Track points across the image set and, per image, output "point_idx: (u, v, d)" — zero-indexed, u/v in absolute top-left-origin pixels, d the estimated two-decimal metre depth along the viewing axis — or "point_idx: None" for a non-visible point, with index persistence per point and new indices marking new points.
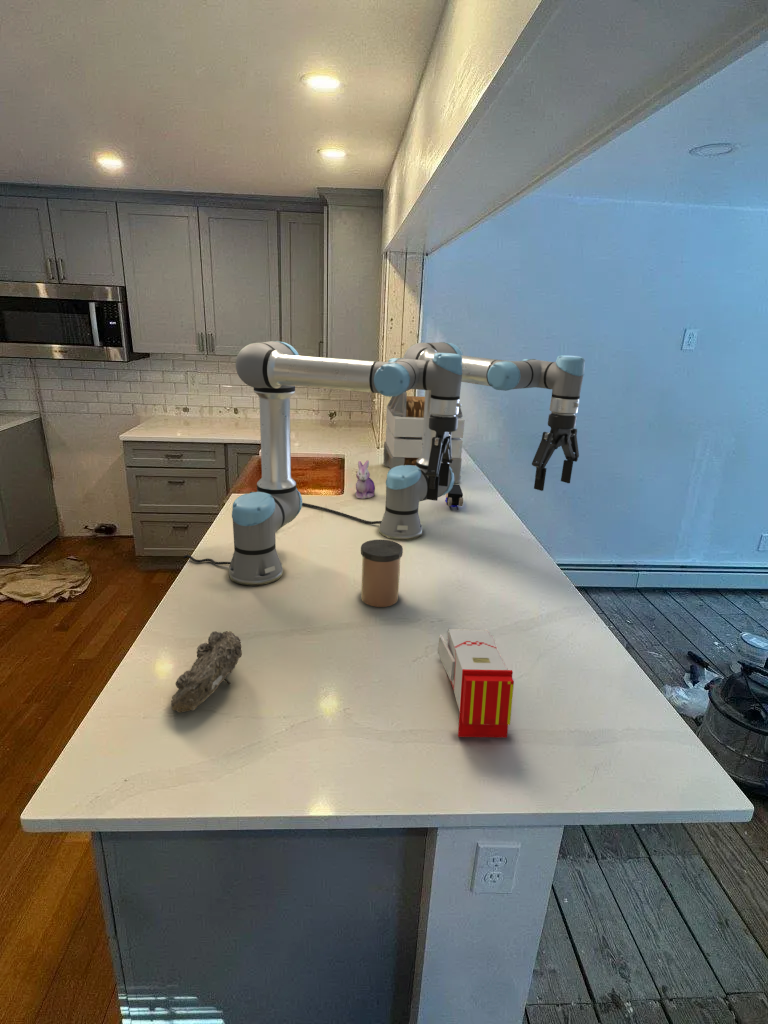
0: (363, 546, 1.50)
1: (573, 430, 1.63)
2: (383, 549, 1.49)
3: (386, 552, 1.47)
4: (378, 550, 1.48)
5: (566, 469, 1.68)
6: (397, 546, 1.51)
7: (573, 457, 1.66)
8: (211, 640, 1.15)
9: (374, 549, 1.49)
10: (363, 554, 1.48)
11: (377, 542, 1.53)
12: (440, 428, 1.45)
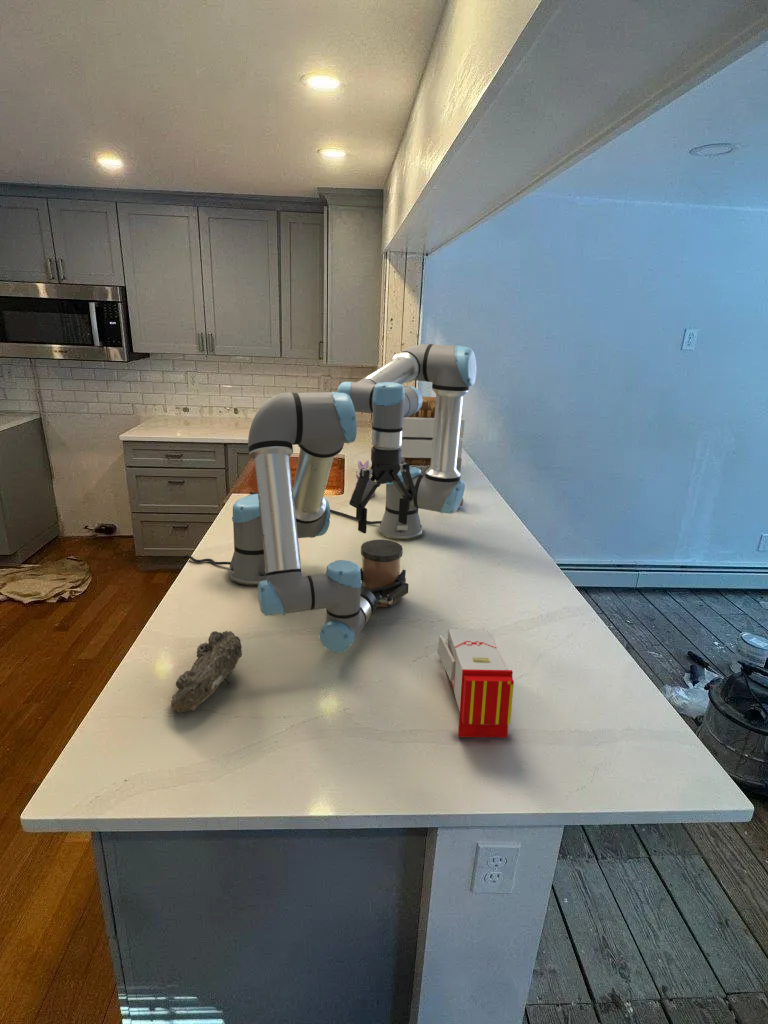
0: (363, 546, 1.50)
1: None
2: (383, 549, 1.49)
3: (386, 552, 1.47)
4: (378, 550, 1.48)
5: None
6: (397, 546, 1.51)
7: None
8: (211, 640, 1.15)
9: (374, 549, 1.49)
10: (363, 554, 1.48)
11: (377, 542, 1.53)
12: None
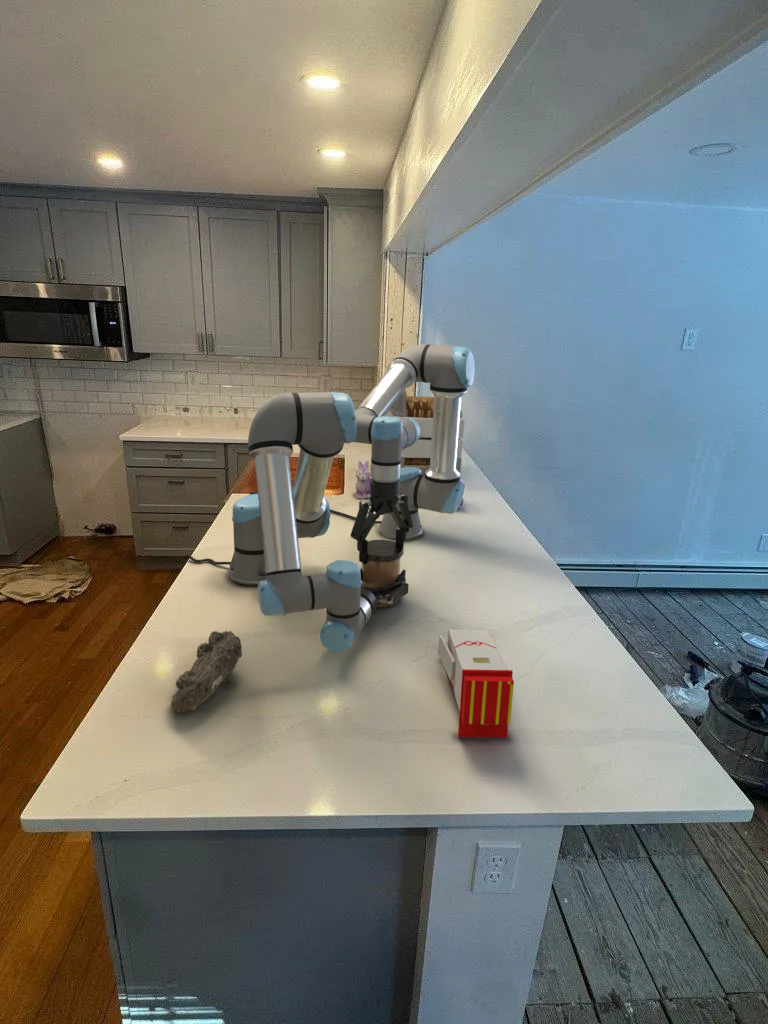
0: None
1: None
2: (383, 549, 1.49)
3: (386, 552, 1.47)
4: (378, 550, 1.48)
5: None
6: (397, 546, 1.51)
7: None
8: (211, 640, 1.15)
9: (374, 549, 1.49)
10: None
11: (377, 542, 1.53)
12: None
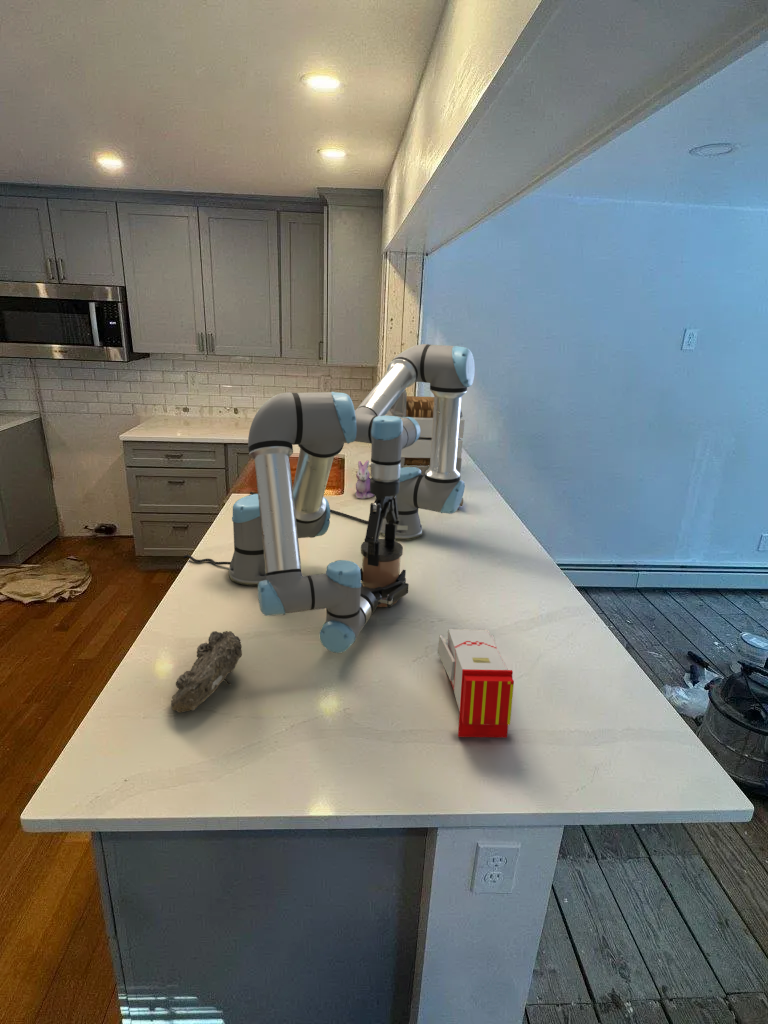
0: (386, 554, 1.46)
1: None
2: (385, 545, 1.51)
3: (391, 543, 1.52)
4: (390, 547, 1.50)
5: None
6: None
7: None
8: (211, 640, 1.15)
9: (389, 549, 1.49)
10: (397, 556, 1.47)
11: None
12: None
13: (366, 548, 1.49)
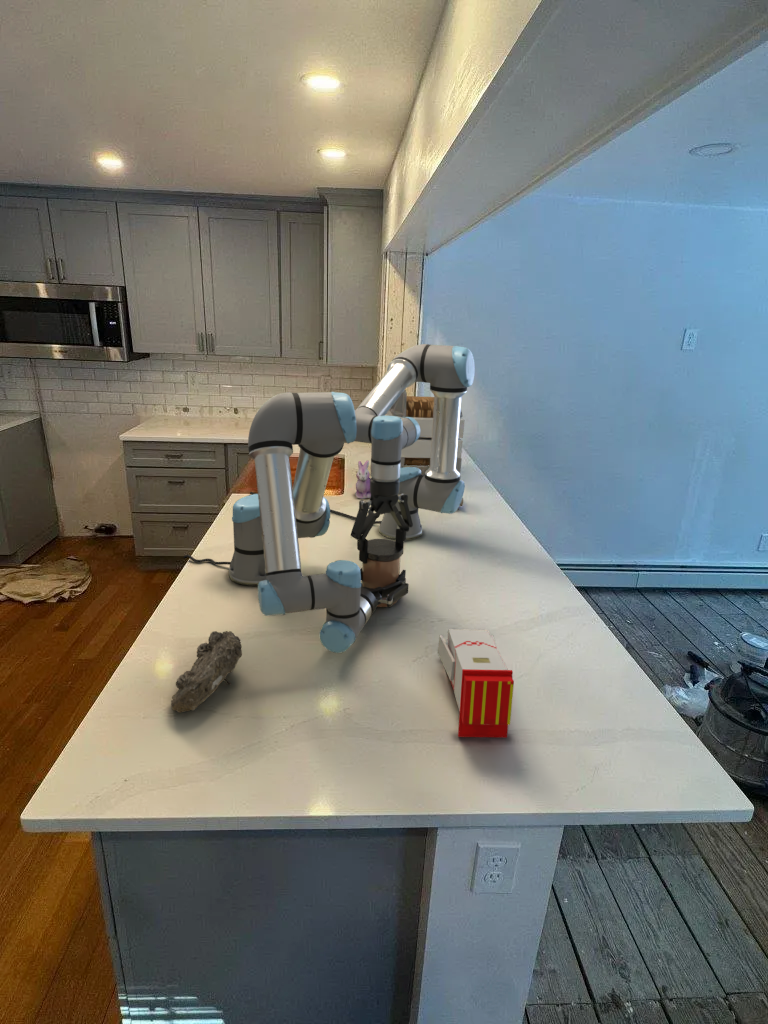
0: (386, 554, 1.46)
1: None
2: (385, 545, 1.51)
3: (391, 543, 1.52)
4: (390, 547, 1.50)
5: None
6: (373, 541, 1.53)
7: None
8: (211, 640, 1.15)
9: (389, 549, 1.49)
10: (397, 556, 1.47)
11: (371, 549, 1.48)
12: None
13: None
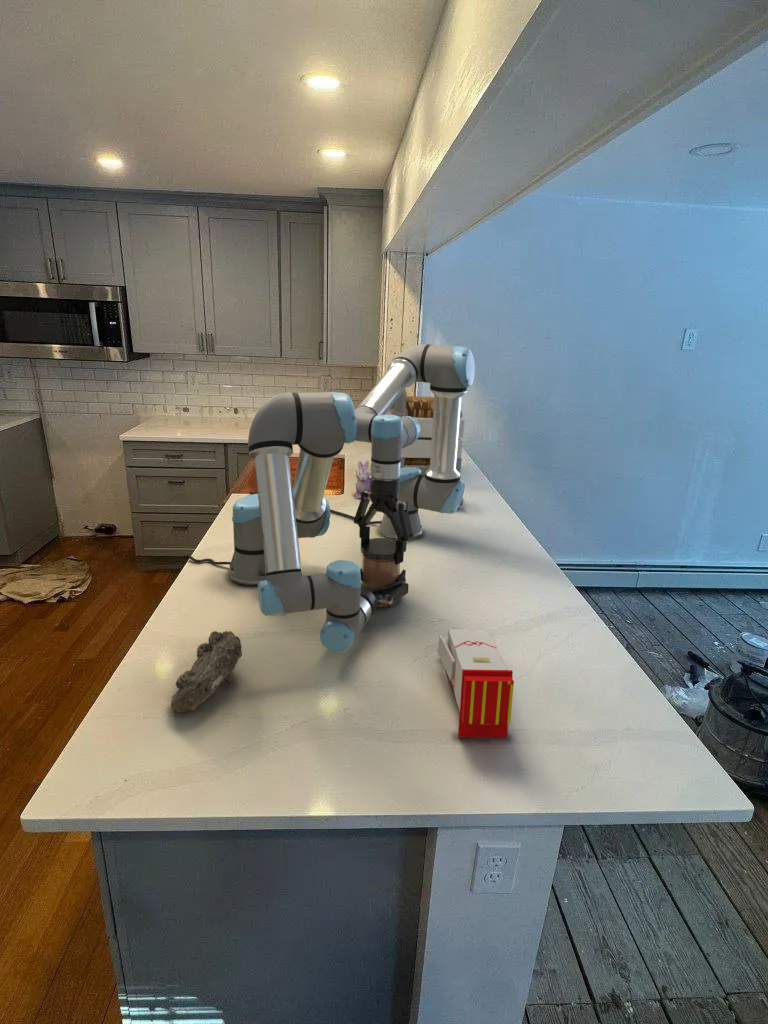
0: None
1: None
2: (378, 544, 1.51)
3: (372, 542, 1.52)
4: (380, 542, 1.52)
5: None
6: (370, 550, 1.47)
7: (398, 536, 1.44)
8: (211, 640, 1.15)
9: (385, 542, 1.52)
10: None
11: (392, 549, 1.48)
12: None
13: (391, 551, 1.47)
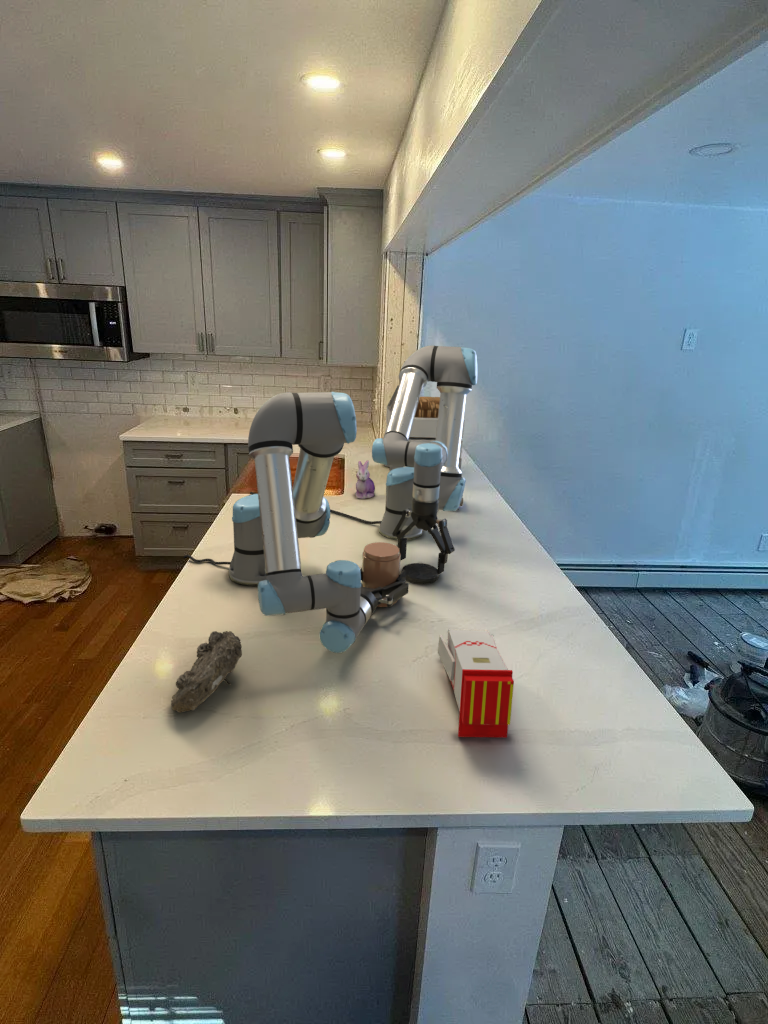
0: (433, 567, 1.71)
1: None
2: (416, 569, 1.69)
3: (410, 567, 1.70)
4: (418, 567, 1.71)
5: None
6: (411, 575, 1.65)
7: (441, 549, 1.61)
8: (211, 640, 1.15)
9: (422, 567, 1.71)
10: None
11: (430, 574, 1.67)
12: None
13: (430, 576, 1.66)
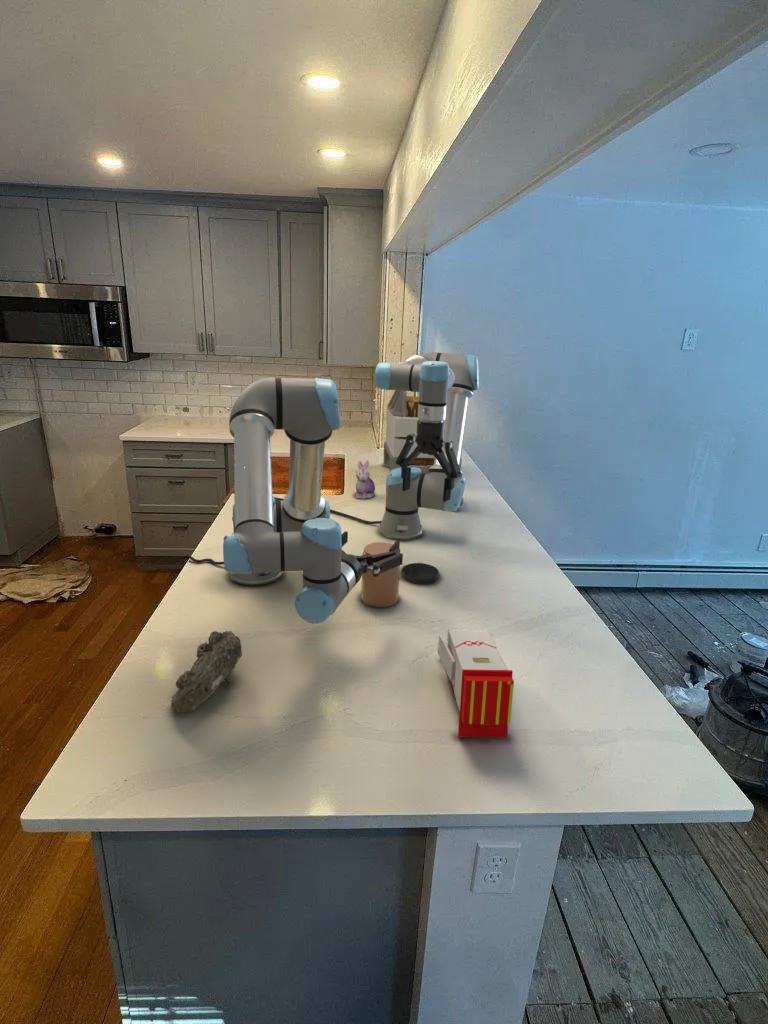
0: (433, 567, 1.71)
1: None
2: (416, 569, 1.69)
3: (410, 567, 1.70)
4: (418, 567, 1.71)
5: None
6: (411, 575, 1.65)
7: (447, 474, 1.53)
8: (211, 640, 1.15)
9: (422, 567, 1.71)
10: None
11: (430, 574, 1.67)
12: None
13: (430, 576, 1.66)
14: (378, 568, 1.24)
